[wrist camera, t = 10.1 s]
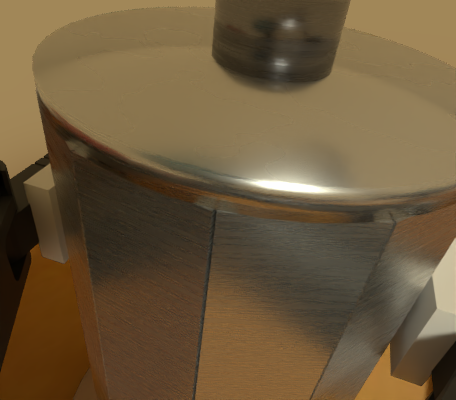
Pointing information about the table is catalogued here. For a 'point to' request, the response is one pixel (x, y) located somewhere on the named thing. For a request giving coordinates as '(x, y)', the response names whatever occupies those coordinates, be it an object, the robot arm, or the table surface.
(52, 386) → the table surface
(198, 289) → the metal canister with knob
